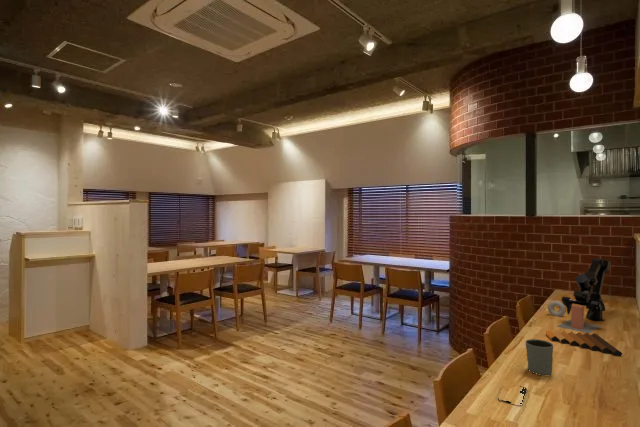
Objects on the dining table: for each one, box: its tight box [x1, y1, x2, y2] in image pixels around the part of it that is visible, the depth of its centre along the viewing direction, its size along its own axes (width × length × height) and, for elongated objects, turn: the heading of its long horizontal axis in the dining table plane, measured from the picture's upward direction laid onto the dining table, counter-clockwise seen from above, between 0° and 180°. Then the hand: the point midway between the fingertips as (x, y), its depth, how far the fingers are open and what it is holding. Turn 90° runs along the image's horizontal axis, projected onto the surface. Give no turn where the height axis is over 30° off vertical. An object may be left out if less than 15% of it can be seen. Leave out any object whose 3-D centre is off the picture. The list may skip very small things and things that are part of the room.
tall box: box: [570, 304, 585, 330], centre depth 218 cm, size 3×5×12 cm, turn 38°
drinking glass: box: [525, 338, 554, 376], centre depth 162 cm, size 10×10×12 cm
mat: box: [556, 319, 602, 334], centre depth 221 cm, size 20×16×1 cm
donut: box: [547, 300, 567, 317], centre depth 243 cm, size 10×4×10 cm, turn 45°
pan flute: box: [544, 329, 623, 357], centre depth 193 cm, size 25×3×25 cm
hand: (577, 315), depth 218 cm, fingers open, 9 cm apart
